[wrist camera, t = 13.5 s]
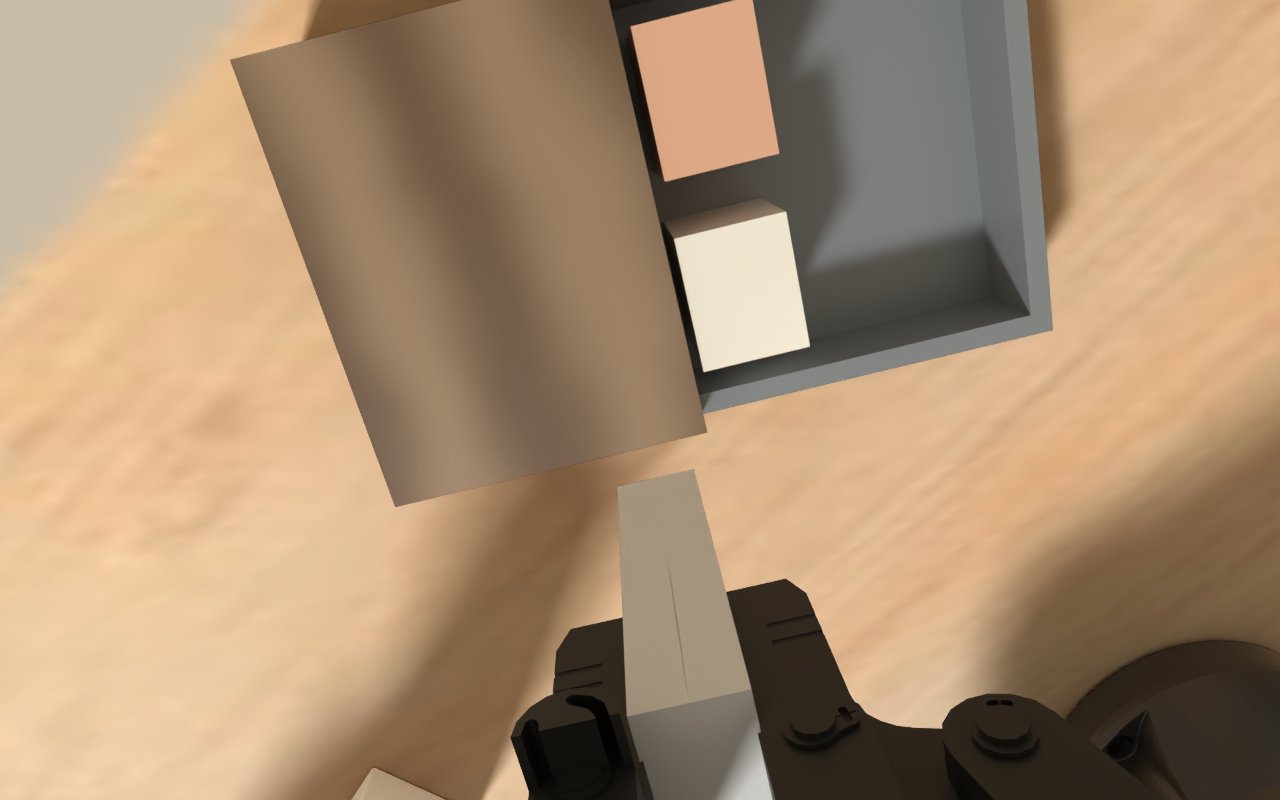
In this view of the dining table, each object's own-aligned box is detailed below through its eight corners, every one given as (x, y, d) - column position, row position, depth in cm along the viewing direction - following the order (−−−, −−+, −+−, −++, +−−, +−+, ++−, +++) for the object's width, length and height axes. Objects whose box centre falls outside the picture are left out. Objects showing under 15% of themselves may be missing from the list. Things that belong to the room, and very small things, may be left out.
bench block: (600, -9, 32) (600, -36, 26) (690, 383, 37) (707, 432, 31) (295, 69, 32) (229, 59, 27) (426, 447, 37) (395, 506, 32)
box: (965, -103, 31) (1016, -133, 28) (1006, 307, 37) (1052, 330, 33) (600, -9, 32) (600, -26, 28) (690, 383, 37) (700, 414, 33)
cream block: (663, 221, 34) (760, 198, 34) (689, 338, 36) (782, 315, 36) (674, 238, 29) (786, 211, 29) (703, 372, 31) (810, 346, 31)
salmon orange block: (625, 39, 32) (728, 13, 32) (655, 172, 34) (753, 148, 33) (630, 26, 27) (751, -4, 27) (664, 181, 29) (779, 153, 29)
